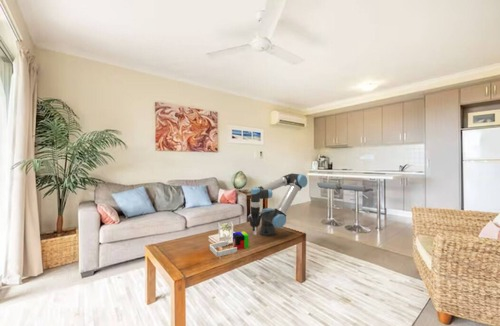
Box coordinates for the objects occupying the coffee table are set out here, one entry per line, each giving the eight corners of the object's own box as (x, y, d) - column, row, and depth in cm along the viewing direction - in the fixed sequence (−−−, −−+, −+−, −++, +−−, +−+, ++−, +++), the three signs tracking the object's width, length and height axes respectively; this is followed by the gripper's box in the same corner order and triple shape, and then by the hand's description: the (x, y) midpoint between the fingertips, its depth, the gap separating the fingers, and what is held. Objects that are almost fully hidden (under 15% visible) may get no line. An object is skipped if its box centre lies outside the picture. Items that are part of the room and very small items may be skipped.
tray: (227, 244, 177) (227, 240, 177) (236, 252, 164) (236, 247, 164) (209, 249, 169) (209, 244, 169) (217, 257, 155) (217, 252, 155)
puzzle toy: (232, 244, 177) (232, 232, 177) (244, 243, 181) (244, 231, 181) (236, 249, 168) (236, 237, 168) (248, 247, 171) (248, 235, 171)
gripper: (259, 204, 187) (258, 231, 188) (246, 206, 180) (245, 234, 181) (264, 206, 181) (263, 234, 181) (250, 208, 174) (250, 237, 175)
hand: (254, 234), depth 181 cm, fingers closed
